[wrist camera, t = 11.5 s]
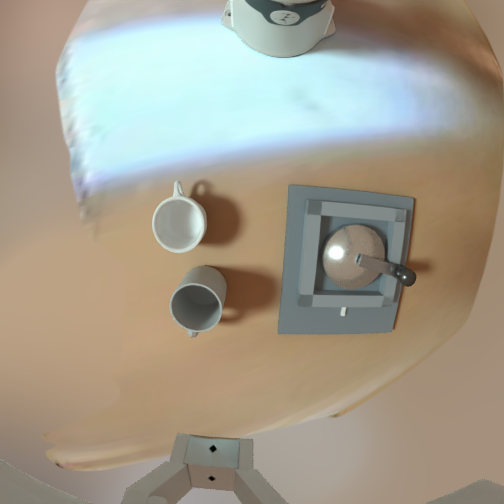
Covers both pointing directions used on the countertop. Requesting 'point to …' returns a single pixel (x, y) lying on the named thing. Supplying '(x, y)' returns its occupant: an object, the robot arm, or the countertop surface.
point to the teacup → (179, 222)
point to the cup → (199, 300)
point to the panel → (313, 275)
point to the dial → (358, 258)
